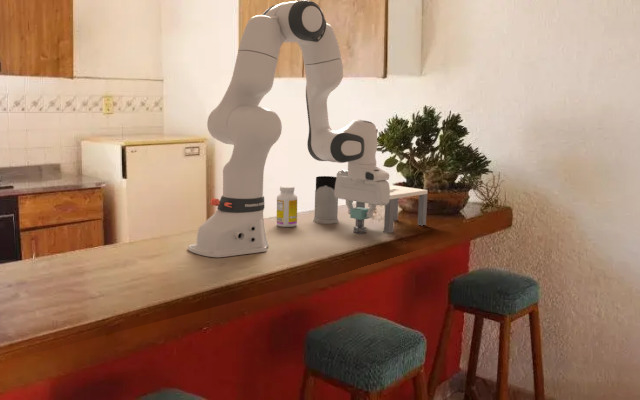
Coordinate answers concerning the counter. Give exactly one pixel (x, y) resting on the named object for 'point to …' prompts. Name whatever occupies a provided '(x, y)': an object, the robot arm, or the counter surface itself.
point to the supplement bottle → (287, 207)
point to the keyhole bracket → (392, 206)
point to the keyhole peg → (359, 218)
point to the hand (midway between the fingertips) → (360, 215)
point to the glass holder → (325, 200)
